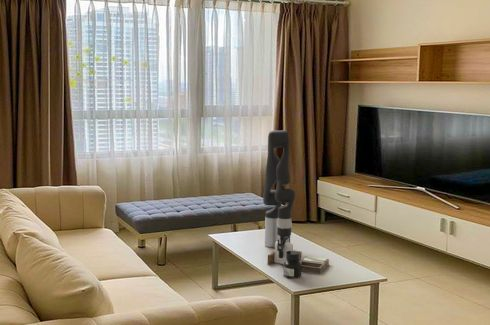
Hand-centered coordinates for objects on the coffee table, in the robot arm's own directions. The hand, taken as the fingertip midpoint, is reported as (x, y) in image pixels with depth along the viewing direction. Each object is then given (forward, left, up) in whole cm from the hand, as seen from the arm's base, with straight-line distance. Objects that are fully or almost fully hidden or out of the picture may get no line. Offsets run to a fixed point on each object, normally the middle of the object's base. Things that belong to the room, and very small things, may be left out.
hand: (283, 255), depth 316 cm
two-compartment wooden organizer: (0, +16, -4) cm, 17 cm away
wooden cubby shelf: (-2, 0, -4) cm, 5 cm away
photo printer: (0, 0, -4) cm, 5 cm away
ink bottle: (+17, +10, -4) cm, 20 cm away
